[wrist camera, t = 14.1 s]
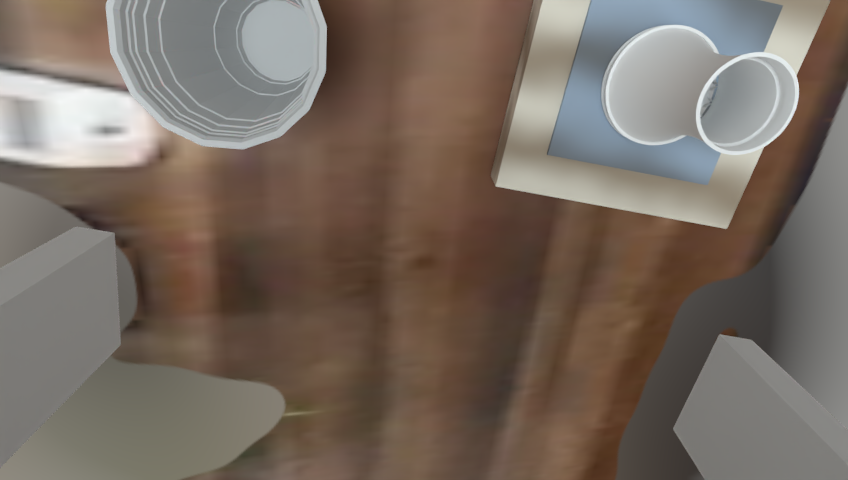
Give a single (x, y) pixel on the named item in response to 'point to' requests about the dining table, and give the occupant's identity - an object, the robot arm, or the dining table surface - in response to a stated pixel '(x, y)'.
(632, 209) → the plinth
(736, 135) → the white flared tube
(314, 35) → the plastic cup
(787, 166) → the dining table surface
